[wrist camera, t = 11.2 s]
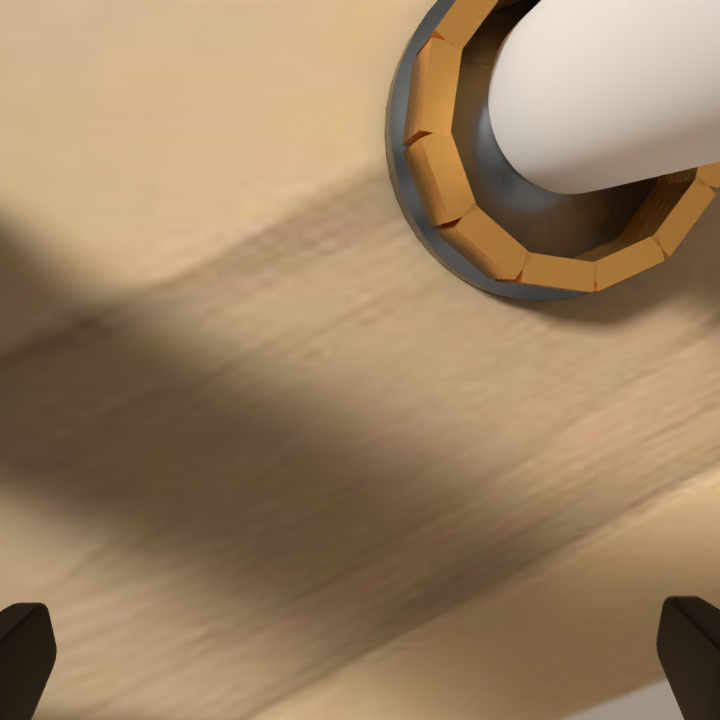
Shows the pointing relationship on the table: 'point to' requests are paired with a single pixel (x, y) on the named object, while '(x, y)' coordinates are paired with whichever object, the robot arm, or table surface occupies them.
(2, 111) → the table surface
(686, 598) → the robot arm
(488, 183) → the ring plate
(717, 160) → the can
